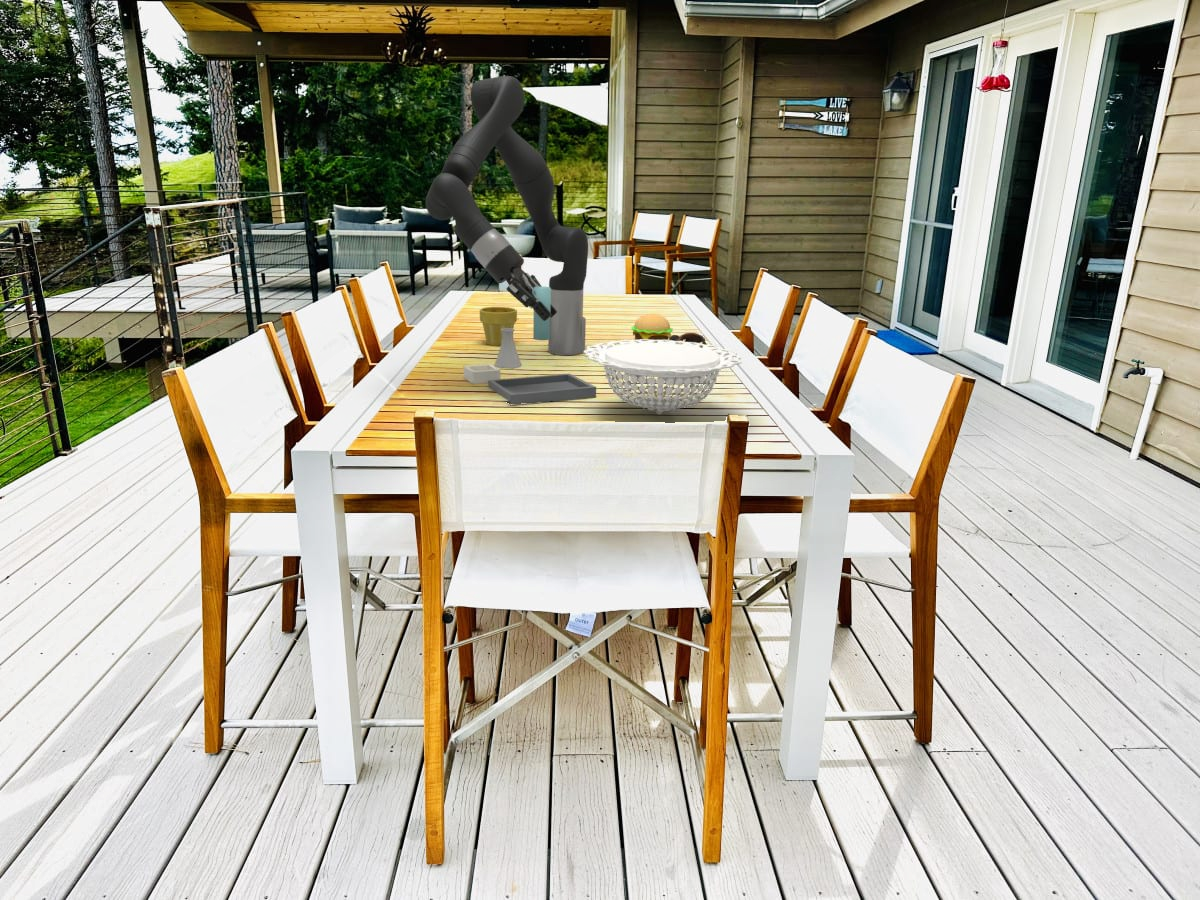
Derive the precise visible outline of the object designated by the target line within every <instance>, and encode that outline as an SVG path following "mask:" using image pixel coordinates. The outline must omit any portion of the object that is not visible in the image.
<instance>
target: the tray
mask: <svg viewBox="0 0 1200 900" xmlns="http://www.w3.org/2000/svg"><path fill="white" fill-rule="evenodd" d="M487 388H488V389H490V390H491V391H494V392H495V393H496V394H497V395H499V396H501V397H502V398H504V399H505V401H504V402H505V403H506V402H507V403H506V404H508V403H509V404H521V403H532V404H538V403H537V402H542V403H551V402H550V401H553V402H561V401H571V400H579V399H581V400H582V399H592V398H597V386H595V385H593V384H591V383H589V382H587V381H585V380H583V379H581V378H580V377H577V376H576V375H573V374H571V373H559V374H558V373H557V374H547V375H537V376H535V375H534V376H533V375H532V376H524V377H521V376H520V377H511V378H500V379H496V380H488V383H487ZM509 404H508V405H509Z"/></svg>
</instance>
